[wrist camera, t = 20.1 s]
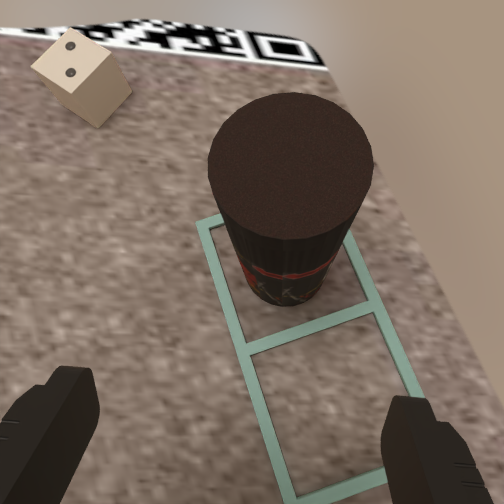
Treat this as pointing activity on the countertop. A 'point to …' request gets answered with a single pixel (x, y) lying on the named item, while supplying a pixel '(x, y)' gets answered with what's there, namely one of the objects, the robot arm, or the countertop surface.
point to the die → (83, 77)
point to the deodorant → (289, 189)
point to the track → (322, 498)
